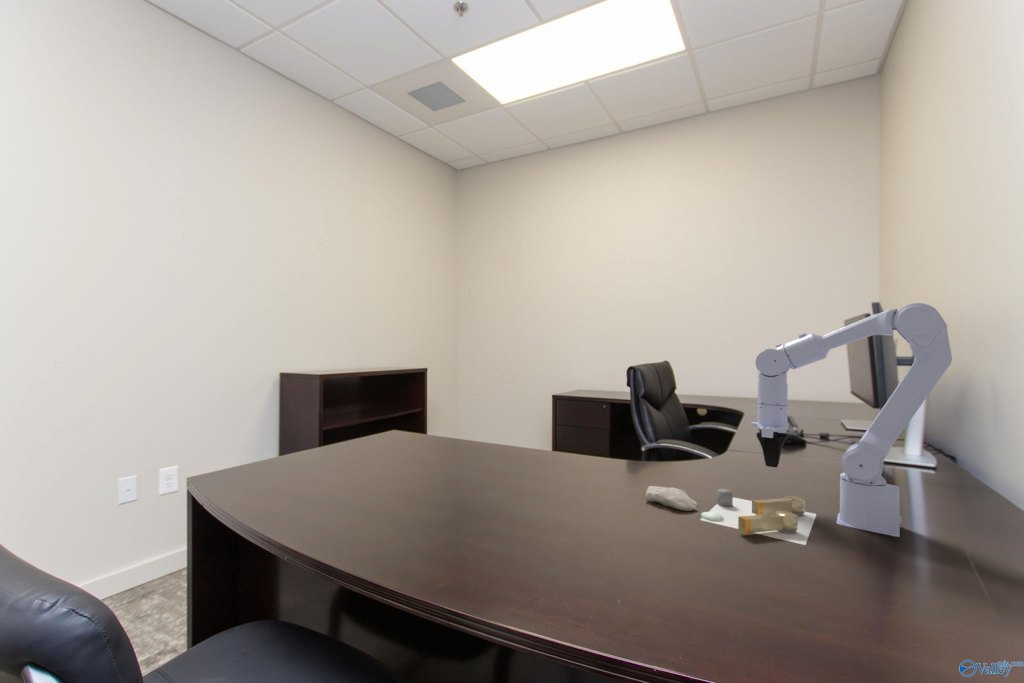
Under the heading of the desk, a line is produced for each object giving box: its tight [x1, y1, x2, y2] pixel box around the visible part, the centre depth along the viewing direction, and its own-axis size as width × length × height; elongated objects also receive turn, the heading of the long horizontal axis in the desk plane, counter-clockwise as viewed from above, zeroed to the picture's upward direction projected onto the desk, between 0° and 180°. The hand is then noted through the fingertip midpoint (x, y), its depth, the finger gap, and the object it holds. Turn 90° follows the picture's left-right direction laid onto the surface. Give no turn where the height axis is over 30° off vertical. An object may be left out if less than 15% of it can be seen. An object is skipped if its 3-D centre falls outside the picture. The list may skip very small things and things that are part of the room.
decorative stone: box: [645, 485, 698, 512], centre depth 101 cm, size 11×4×15 cm
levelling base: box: [699, 488, 817, 546], centre depth 92 cm, size 18×20×4 cm
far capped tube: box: [751, 495, 806, 515], centre depth 93 cm, size 12×4×2 cm, turn 106°
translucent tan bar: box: [737, 511, 798, 535], centre depth 84 cm, size 12×4×2 cm, turn 106°
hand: (771, 466), depth 100 cm, fingers closed
